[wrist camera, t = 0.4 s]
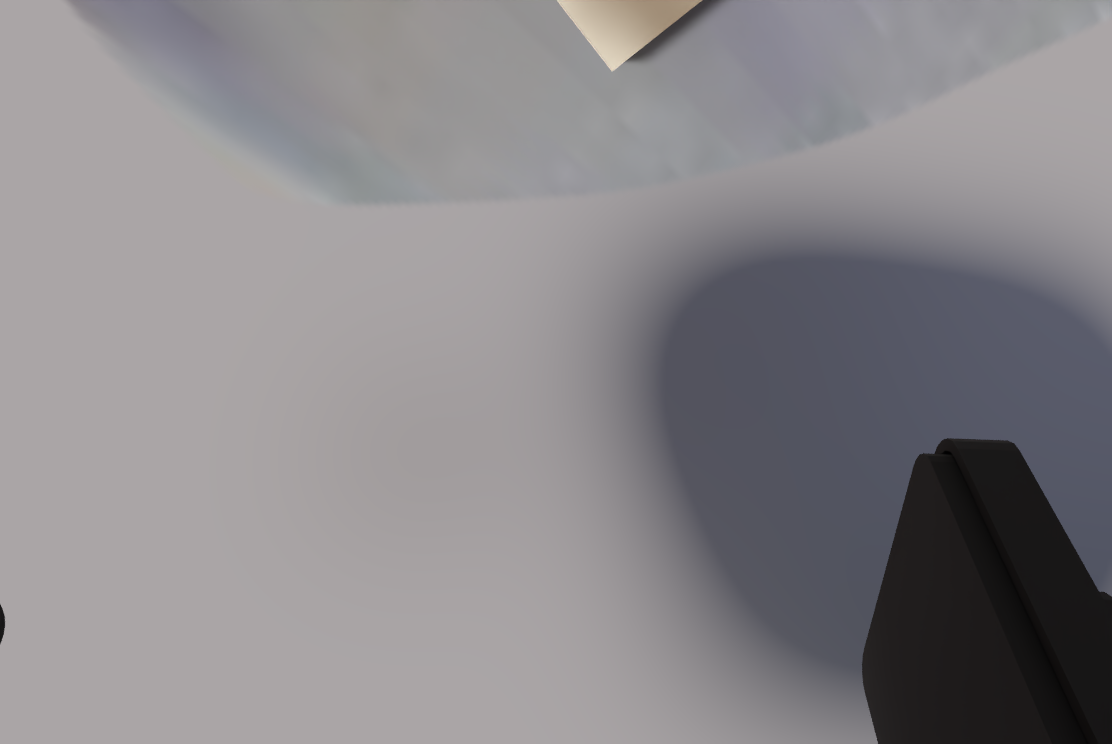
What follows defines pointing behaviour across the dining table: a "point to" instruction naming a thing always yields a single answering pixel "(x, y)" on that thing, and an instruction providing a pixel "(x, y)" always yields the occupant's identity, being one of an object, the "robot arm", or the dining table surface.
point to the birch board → (623, 23)
